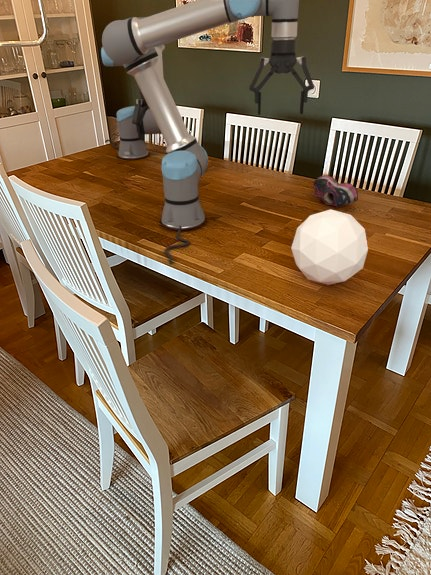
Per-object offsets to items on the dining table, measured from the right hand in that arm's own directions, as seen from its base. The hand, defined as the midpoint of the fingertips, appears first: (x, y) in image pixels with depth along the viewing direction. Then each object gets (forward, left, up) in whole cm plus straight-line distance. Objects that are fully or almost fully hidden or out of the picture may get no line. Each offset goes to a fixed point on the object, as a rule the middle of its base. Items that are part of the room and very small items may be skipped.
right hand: (280, 113), depth 143 cm
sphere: (-48, -1, -34) cm, 59 cm away
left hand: (+56, +41, -18) cm, 72 cm away
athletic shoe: (+4, -22, -34) cm, 41 cm away
